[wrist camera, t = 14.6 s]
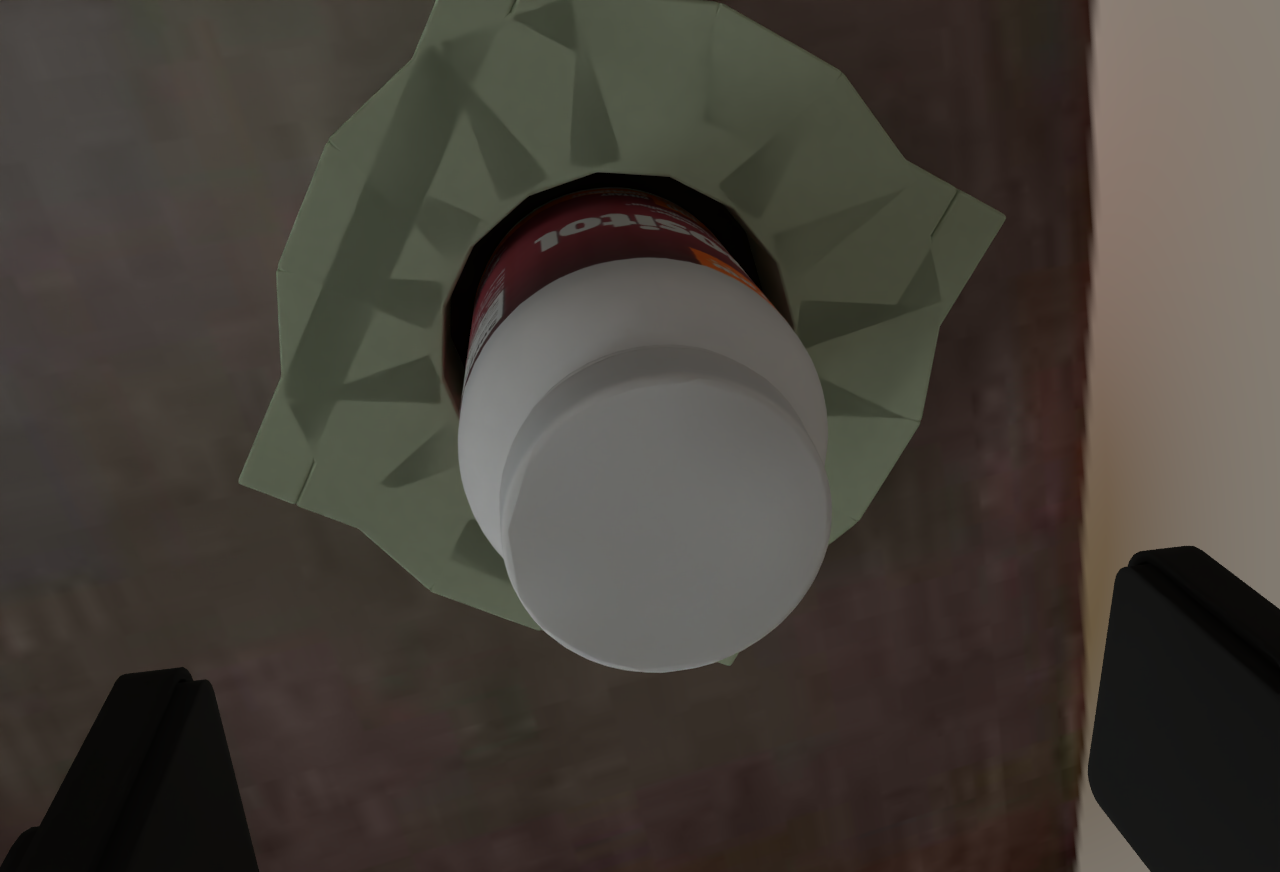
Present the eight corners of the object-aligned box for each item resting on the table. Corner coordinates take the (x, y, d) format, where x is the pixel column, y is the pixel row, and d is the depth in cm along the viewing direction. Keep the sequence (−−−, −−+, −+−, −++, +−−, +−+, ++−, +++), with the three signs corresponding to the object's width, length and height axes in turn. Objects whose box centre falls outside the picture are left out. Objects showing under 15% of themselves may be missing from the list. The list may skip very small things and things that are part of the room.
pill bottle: (770, 219, 24) (961, 380, 14) (693, 459, 26) (809, 748, 16) (505, 147, 23) (505, 268, 13) (445, 405, 25) (406, 684, 15)
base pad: (218, 446, 25) (183, 503, 22) (452, -137, 21) (444, -157, 18) (721, 637, 29) (743, 706, 26) (1001, 174, 24) (1063, 198, 22)
